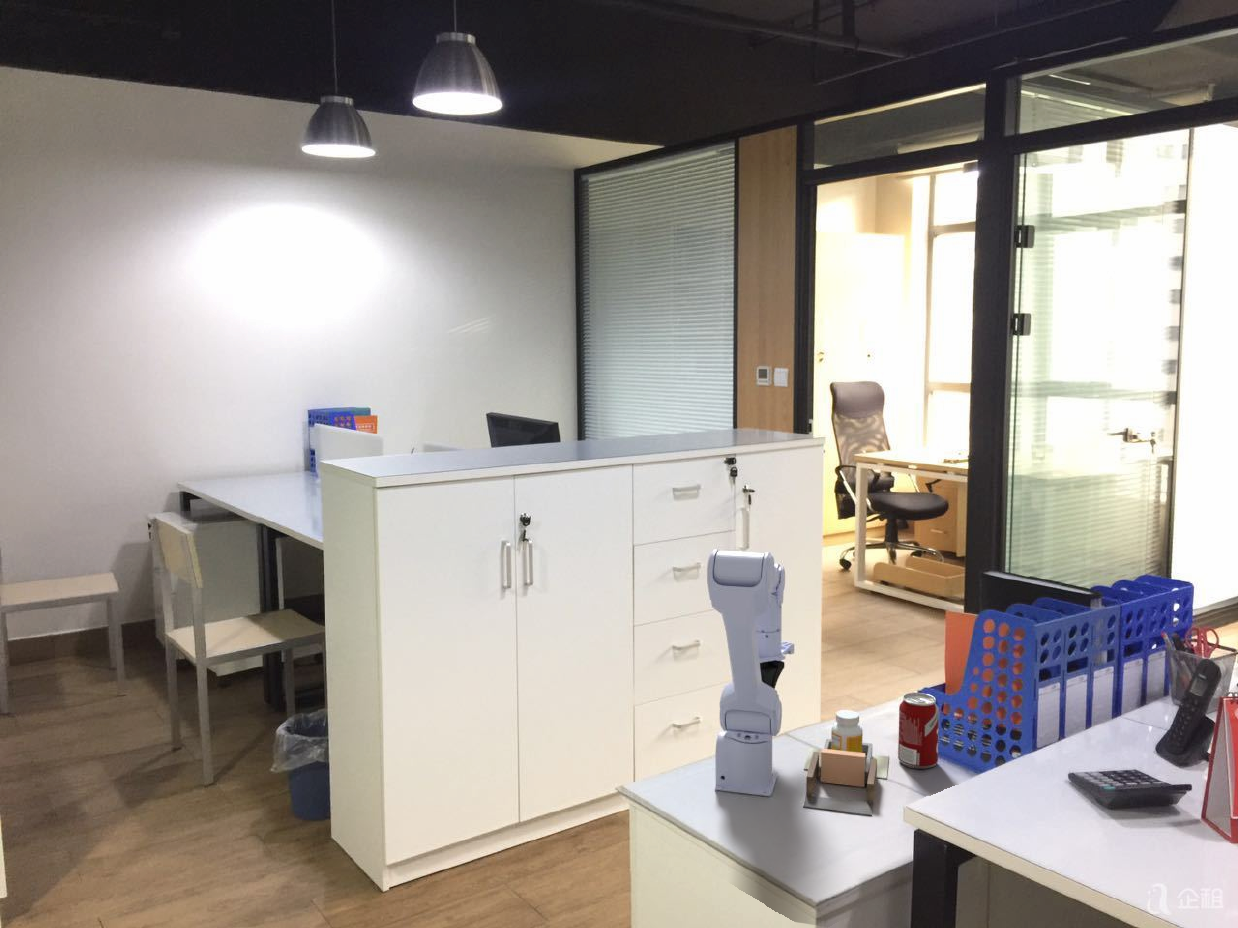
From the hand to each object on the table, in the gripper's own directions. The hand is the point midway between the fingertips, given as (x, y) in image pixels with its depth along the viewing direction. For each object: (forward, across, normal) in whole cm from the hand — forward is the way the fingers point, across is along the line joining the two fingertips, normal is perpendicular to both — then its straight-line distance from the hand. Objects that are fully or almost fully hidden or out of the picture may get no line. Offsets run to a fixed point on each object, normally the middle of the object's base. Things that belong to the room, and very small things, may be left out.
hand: (765, 699), depth 186 cm
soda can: (+10, +14, -23) cm, 29 cm away
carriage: (+9, +3, -15) cm, 18 cm away
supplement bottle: (+10, +5, -15) cm, 18 cm away
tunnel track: (+9, -1, -18) cm, 20 cm away
